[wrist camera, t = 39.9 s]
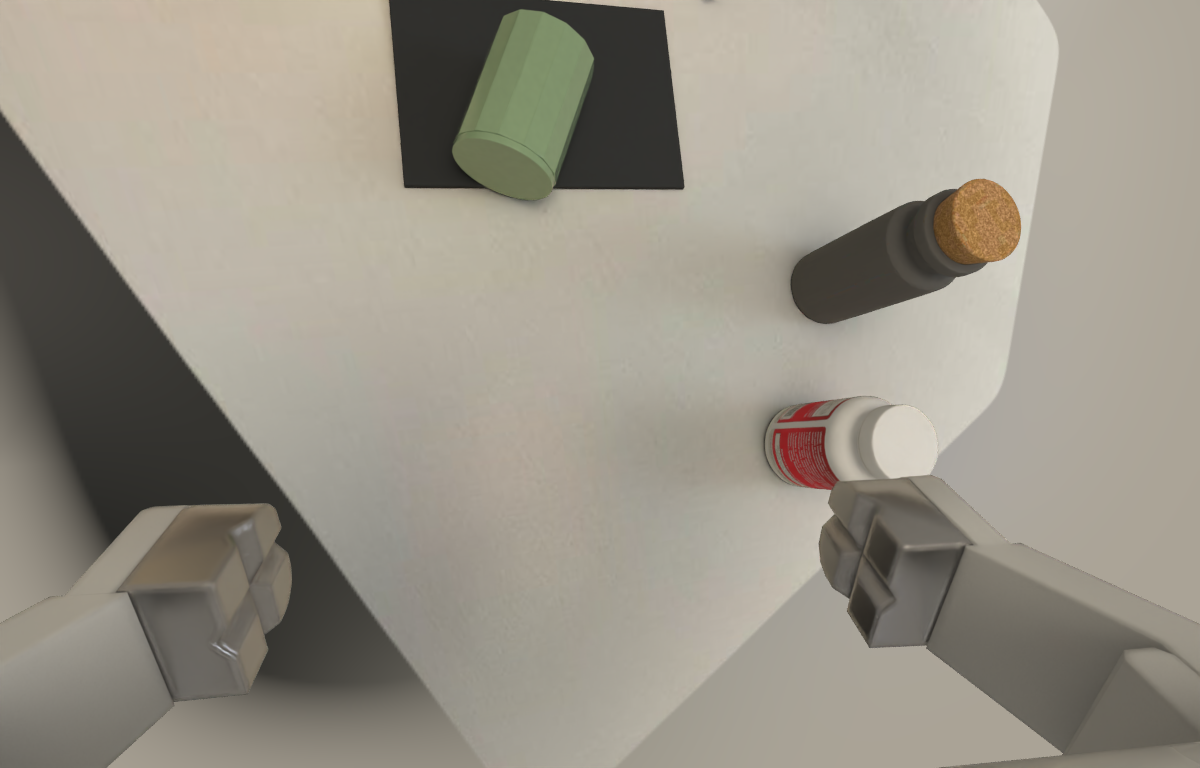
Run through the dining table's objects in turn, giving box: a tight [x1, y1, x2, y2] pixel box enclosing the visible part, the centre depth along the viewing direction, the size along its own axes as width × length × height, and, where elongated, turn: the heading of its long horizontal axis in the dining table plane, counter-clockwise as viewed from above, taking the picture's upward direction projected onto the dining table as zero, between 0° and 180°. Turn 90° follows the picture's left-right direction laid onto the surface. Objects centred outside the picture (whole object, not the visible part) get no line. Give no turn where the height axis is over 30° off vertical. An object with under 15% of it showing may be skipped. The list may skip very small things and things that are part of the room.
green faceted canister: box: [452, 9, 594, 200], centre depth 39 cm, size 7×7×9 cm
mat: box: [389, 0, 684, 189], centre depth 43 cm, size 20×14×1 cm
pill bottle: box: [765, 396, 938, 490], centre depth 40 cm, size 6×6×11 cm
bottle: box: [791, 179, 1021, 324], centre depth 40 cm, size 6×6×15 cm
